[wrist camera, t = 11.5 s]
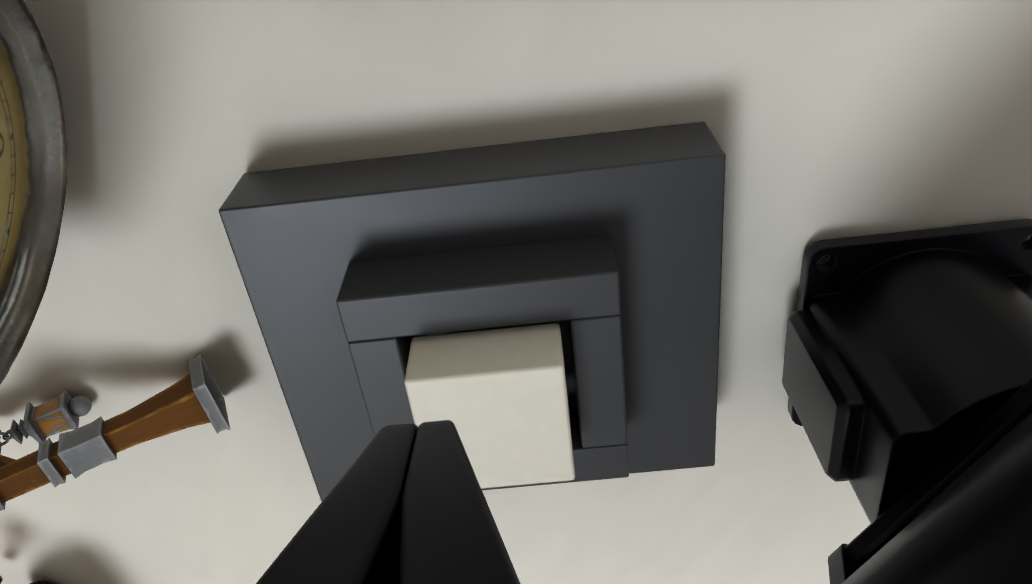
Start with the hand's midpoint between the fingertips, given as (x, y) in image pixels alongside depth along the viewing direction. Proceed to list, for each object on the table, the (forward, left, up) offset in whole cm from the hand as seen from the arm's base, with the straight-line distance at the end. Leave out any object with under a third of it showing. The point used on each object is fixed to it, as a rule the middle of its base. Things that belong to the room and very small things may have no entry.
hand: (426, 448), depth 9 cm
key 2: (0, +6, -8) cm, 10 cm away
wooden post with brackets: (+12, +8, -12) cm, 19 cm away
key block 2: (0, +6, -12) cm, 13 cm away
